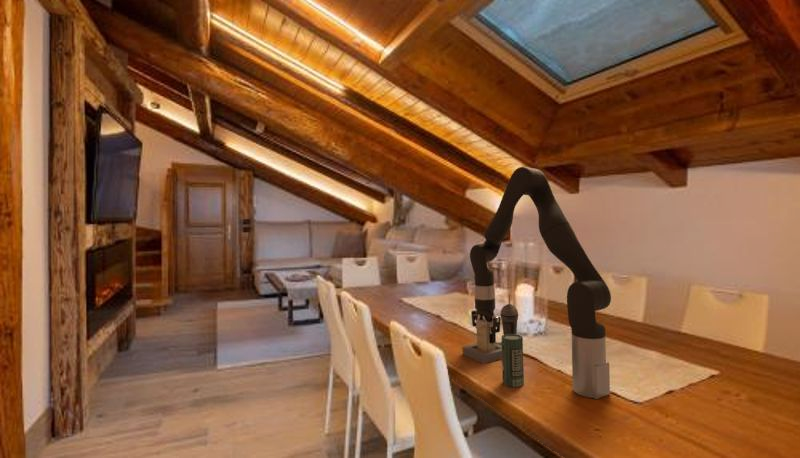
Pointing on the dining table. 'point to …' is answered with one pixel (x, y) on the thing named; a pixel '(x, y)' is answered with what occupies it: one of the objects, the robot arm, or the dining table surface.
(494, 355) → the socket block
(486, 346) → the skincare box
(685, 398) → the dining table surface
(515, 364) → the can
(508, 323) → the beverage cup
